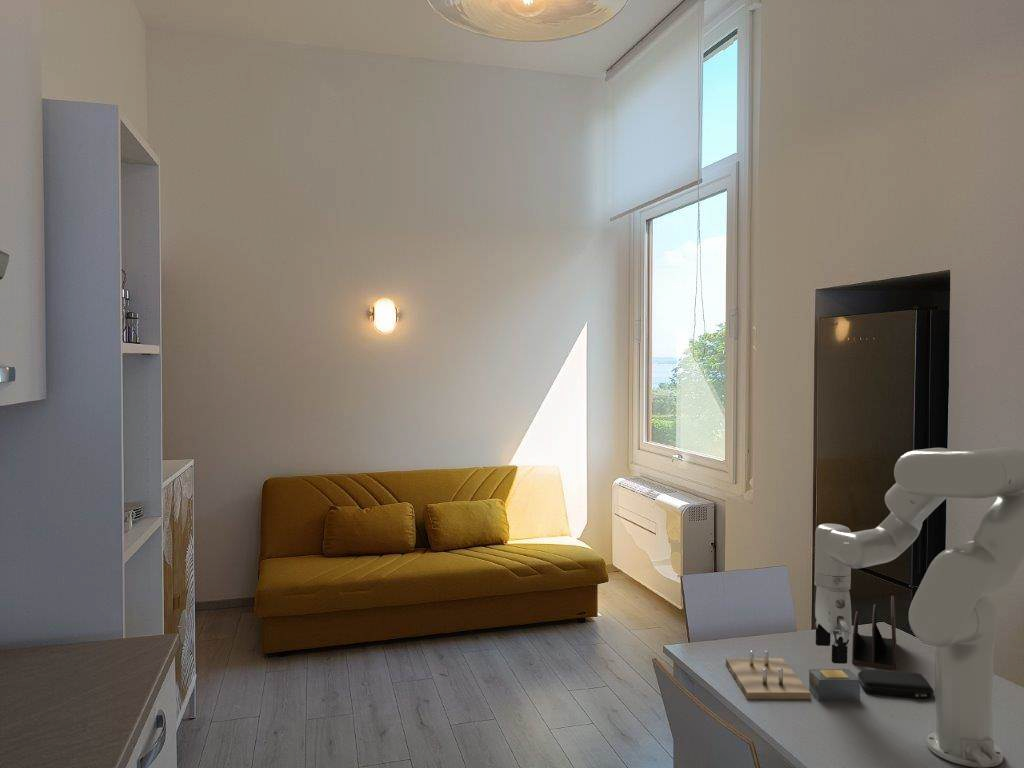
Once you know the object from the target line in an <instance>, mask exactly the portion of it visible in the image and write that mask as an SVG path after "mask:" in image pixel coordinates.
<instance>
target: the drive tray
mask: <svg viewBox="0 0 1024 768" xmlns="http://www.w3.org/2000/svg"><path fill="white" fill-rule="evenodd" d="M748 652H749V654H748V655H749V656H748V657H745V658H743V657H742V658H741V657H740V658H738V657H735V658H734V657H730V658H725V665H726V664H727V665H726V667H727V666H728V667H727V668H729V669H730V670H729V669H728V670H729V671H731V672H730V674H731V675H732V676H734V677H733V678H734V680H735V679H736V680H735V681H737V682H736V683H737V684H739V685H738V686H739V688H740V690H741V689H742V690H741V691H742V693H743V692H744V693H743V694H744V696H745V695H746V696H745V697H747V698H746V699H747V700H811V699H812V697H811V694H812V692H811V691H810V690H809V689H808V687H807V686H806V685H805V684H804V683H803V681H802V680H801V679H800V678H799V676H797V674H796V673H795V672H794V671H793V669H792V668H791V667H790V666H789V664H788V663H787V662H786V661H785V660H784V658H782V657H778V658H777V657H774V658H773V657H770V656H769V650H764V651H763V654H764V656H763V657H762V658H761V657H760V658H759V657H758V658H757V657H755V653H754V650H749V651H748Z"/></svg>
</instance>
